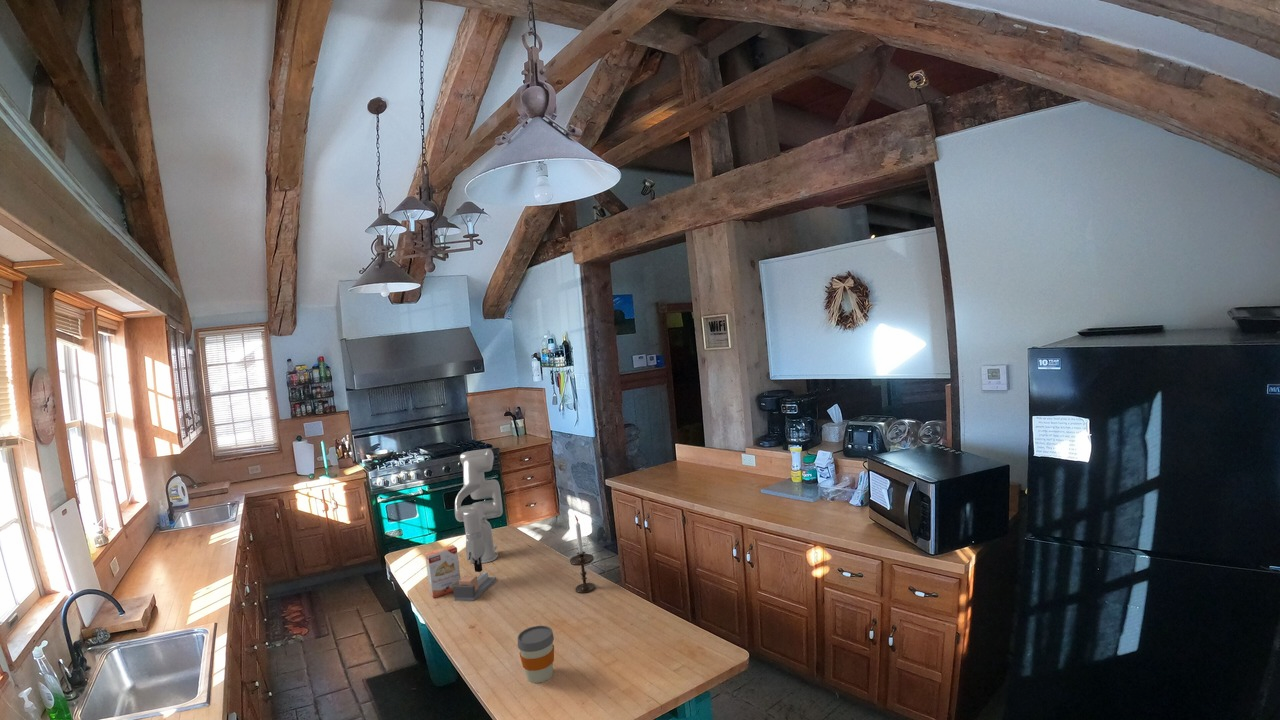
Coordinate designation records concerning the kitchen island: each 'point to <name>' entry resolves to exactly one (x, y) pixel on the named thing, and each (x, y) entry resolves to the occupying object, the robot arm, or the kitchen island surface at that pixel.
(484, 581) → the track
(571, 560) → the candlestick
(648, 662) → the kitchen island surface
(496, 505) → the robot arm
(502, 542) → the kitchen island surface
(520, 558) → the kitchen island surface
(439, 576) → the cracker box
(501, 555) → the kitchen island surface
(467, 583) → the slider
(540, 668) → the reusable coffee cup
